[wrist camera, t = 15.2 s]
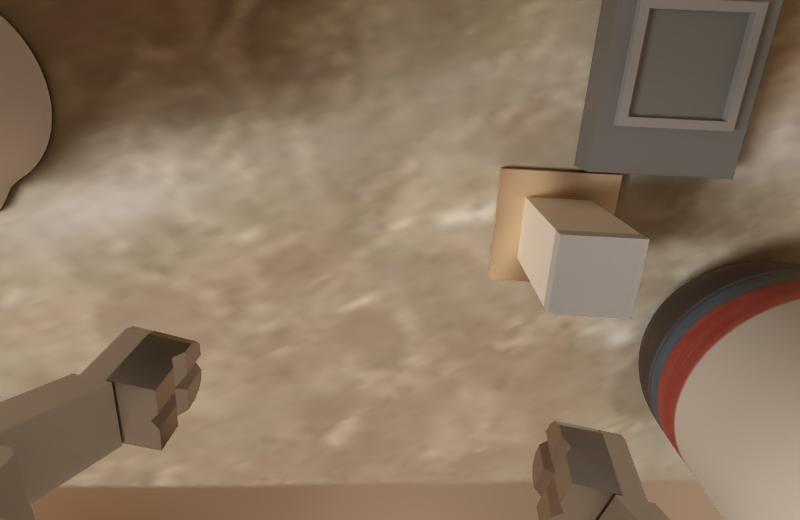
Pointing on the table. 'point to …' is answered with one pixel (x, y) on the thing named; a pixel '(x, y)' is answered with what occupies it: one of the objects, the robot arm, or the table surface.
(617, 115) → the power strip
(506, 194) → the coaster
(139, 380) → the robot arm
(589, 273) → the block
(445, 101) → the table surface
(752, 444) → the vase
